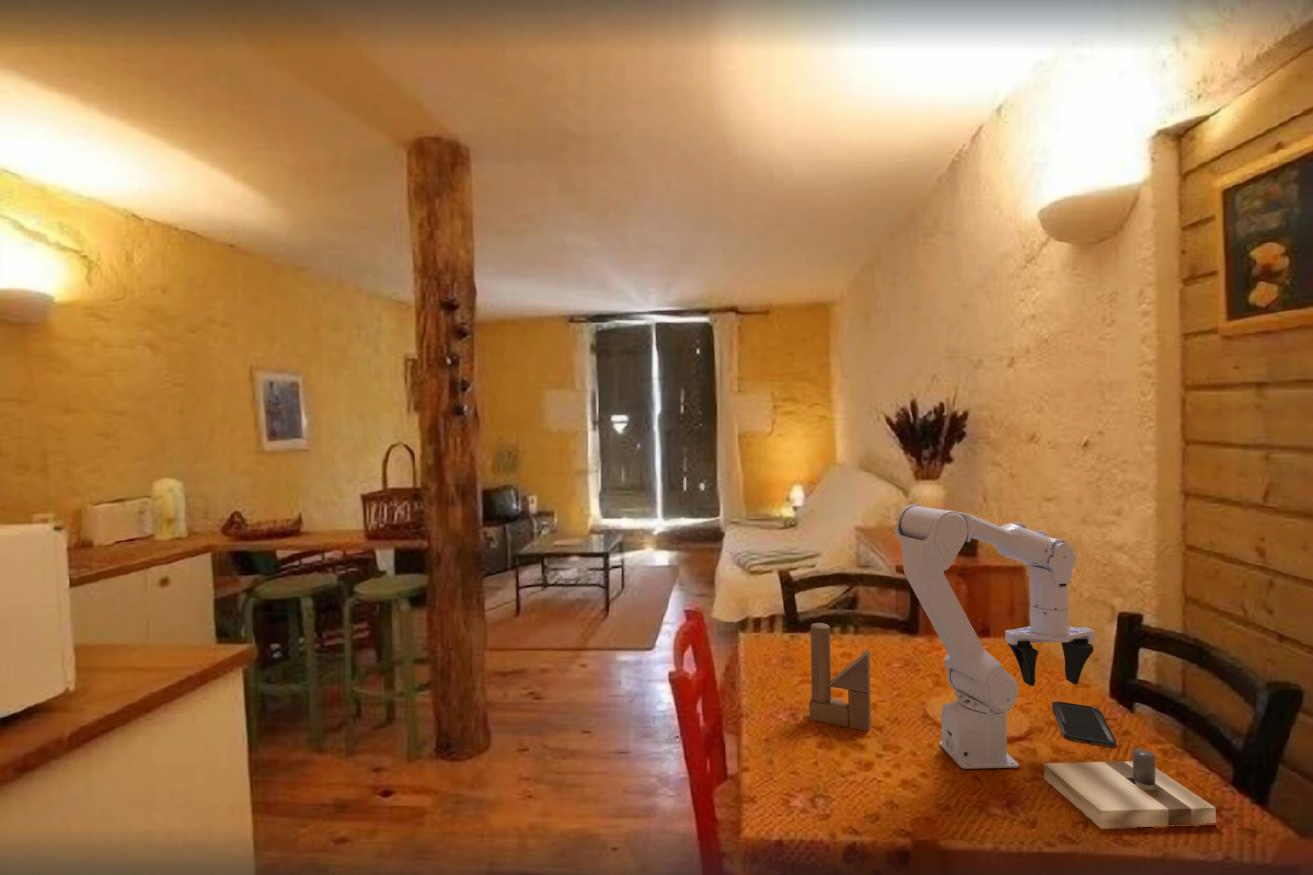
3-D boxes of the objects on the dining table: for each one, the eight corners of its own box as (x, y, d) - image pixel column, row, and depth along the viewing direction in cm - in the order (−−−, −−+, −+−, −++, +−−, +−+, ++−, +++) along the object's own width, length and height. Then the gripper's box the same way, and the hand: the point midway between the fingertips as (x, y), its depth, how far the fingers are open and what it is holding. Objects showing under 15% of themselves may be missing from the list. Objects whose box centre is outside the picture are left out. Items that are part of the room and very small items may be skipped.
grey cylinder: (1142, 805, 89) (1142, 758, 89) (1128, 795, 92) (1128, 748, 92) (1160, 805, 89) (1160, 757, 89) (1145, 794, 92) (1145, 748, 92)
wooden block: (868, 732, 112) (867, 634, 112) (809, 721, 117) (807, 626, 116) (870, 723, 115) (869, 628, 115) (812, 712, 120) (811, 621, 120)
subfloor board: (1100, 828, 84) (1100, 810, 84) (1044, 779, 96) (1044, 763, 96) (1215, 825, 85) (1215, 807, 85) (1145, 776, 97) (1145, 760, 97)
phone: (1098, 707, 119) (1117, 743, 105) (1098, 713, 119) (1117, 750, 105) (1050, 700, 122) (1062, 734, 109) (1050, 706, 122) (1063, 741, 109)
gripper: (1021, 614, 103) (1023, 694, 103) (1107, 610, 103) (1108, 691, 104) (997, 602, 110) (999, 677, 110) (1077, 599, 110) (1079, 674, 111)
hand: (1050, 682), depth 107 cm, fingers open, 7 cm apart
